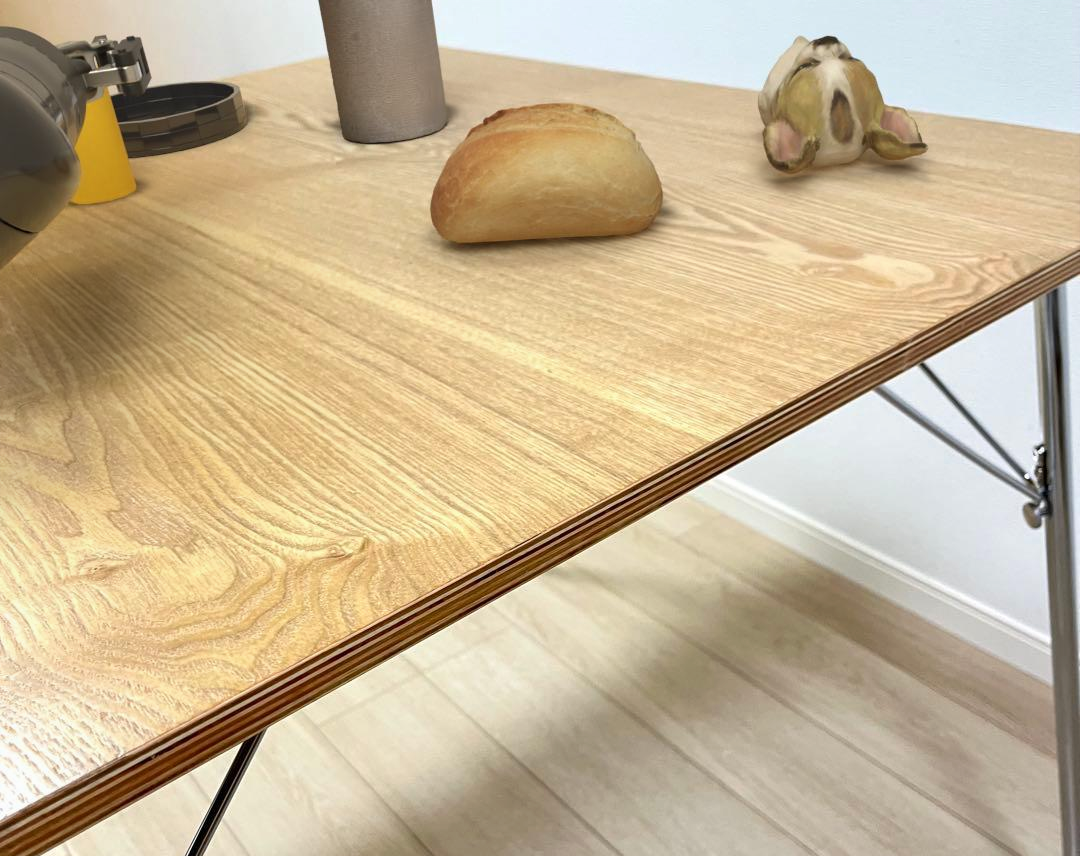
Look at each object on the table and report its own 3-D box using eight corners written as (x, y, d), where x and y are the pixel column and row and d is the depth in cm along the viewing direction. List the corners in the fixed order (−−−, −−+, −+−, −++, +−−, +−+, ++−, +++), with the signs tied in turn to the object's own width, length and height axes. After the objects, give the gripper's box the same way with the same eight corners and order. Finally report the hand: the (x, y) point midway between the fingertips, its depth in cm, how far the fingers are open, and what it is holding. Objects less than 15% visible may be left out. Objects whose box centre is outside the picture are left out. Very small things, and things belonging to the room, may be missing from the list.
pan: (69, 168, 102) (58, 134, 101) (83, 128, 116) (74, 97, 114) (250, 139, 105) (242, 105, 103) (244, 103, 118) (237, 73, 117)
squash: (70, 218, 89) (20, 67, 83) (76, 200, 93) (29, 55, 87) (138, 207, 90) (94, 56, 84) (141, 189, 94) (98, 45, 88)
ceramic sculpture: (871, 3, 84) (947, 55, 72) (863, 123, 89) (933, 190, 77) (728, 22, 84) (780, 77, 72) (728, 140, 89) (777, 211, 77)
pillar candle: (321, 135, 104) (285, -49, 95) (407, 110, 109) (380, -67, 100) (384, 150, 97) (351, -46, 89) (472, 122, 102) (448, -66, 94)
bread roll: (438, 224, 79) (420, 104, 75) (653, 200, 79) (648, 79, 75) (433, 273, 71) (413, 142, 67) (673, 247, 71) (668, 114, 67)
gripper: (118, 17, 61) (132, -16, 75) (-163, 59, 59) (-97, 17, 72) (158, 159, 65) (164, 103, 79) (-103, 203, 63) (-51, 138, 77)
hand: (39, 62), depth 76 cm, fingers open, 8 cm apart
